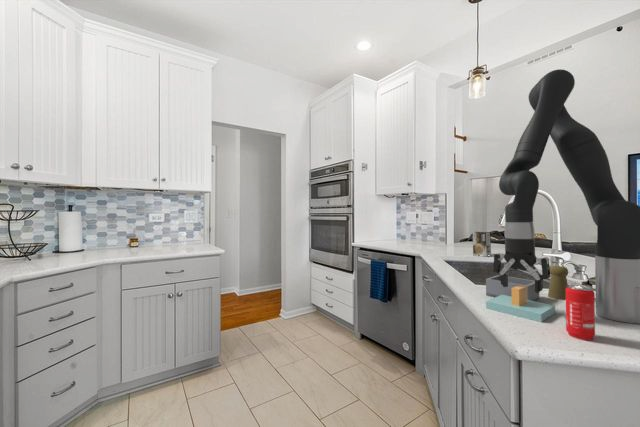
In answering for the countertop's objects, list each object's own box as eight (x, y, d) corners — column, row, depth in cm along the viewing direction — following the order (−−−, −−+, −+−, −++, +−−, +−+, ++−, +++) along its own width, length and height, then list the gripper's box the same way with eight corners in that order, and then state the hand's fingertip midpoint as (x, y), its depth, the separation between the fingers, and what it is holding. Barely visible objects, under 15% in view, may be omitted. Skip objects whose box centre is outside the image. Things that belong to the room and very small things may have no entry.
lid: (555, 312, 84) (554, 289, 84) (541, 322, 78) (540, 296, 78) (502, 301, 96) (501, 280, 96) (486, 308, 90) (485, 285, 90)
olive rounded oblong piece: (574, 300, 95) (574, 268, 95) (554, 299, 97) (553, 267, 97) (563, 295, 101) (562, 264, 101) (544, 294, 103) (543, 264, 102)
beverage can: (572, 339, 67) (571, 289, 67) (562, 330, 72) (561, 283, 72) (600, 342, 65) (599, 291, 65) (588, 333, 70) (587, 285, 70)
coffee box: (491, 256, 188) (491, 231, 188) (486, 257, 184) (486, 232, 184) (477, 254, 196) (477, 231, 195) (472, 255, 192) (472, 231, 192)
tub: (539, 298, 98) (539, 281, 98) (528, 304, 92) (527, 286, 92) (498, 290, 108) (498, 274, 108) (486, 295, 103) (485, 278, 103)
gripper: (552, 237, 83) (553, 292, 83) (499, 234, 95) (500, 283, 94) (543, 238, 79) (545, 297, 79) (488, 236, 90) (490, 287, 90)
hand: (520, 289), depth 87 cm, fingers open, 8 cm apart
